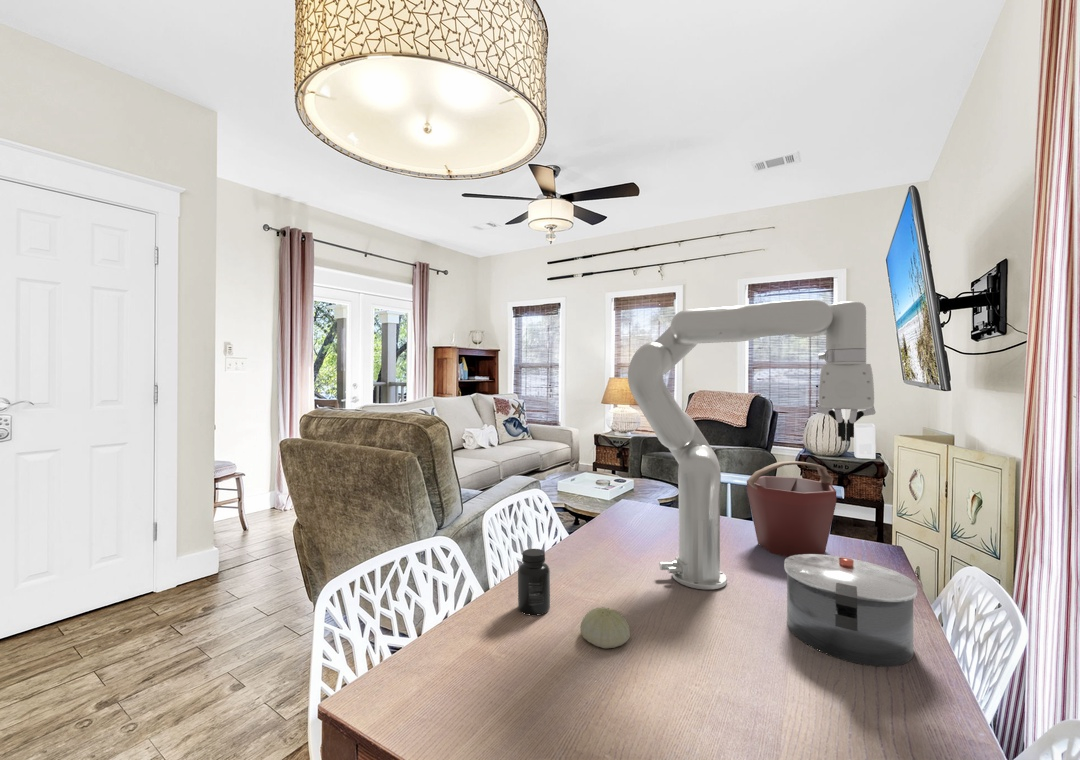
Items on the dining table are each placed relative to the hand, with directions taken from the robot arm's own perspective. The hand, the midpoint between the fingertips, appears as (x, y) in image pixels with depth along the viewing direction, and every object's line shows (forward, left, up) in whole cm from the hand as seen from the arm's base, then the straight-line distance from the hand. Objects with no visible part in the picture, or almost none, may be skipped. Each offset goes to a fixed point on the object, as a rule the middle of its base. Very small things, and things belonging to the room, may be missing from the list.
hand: (845, 440), depth 104 cm
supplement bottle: (-70, 0, -35) cm, 78 cm away
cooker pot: (-12, -16, -35) cm, 40 cm away
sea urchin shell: (-57, -12, -36) cm, 68 cm away
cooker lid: (-12, -16, -24) cm, 31 cm away
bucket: (+6, +30, -35) cm, 47 cm away
